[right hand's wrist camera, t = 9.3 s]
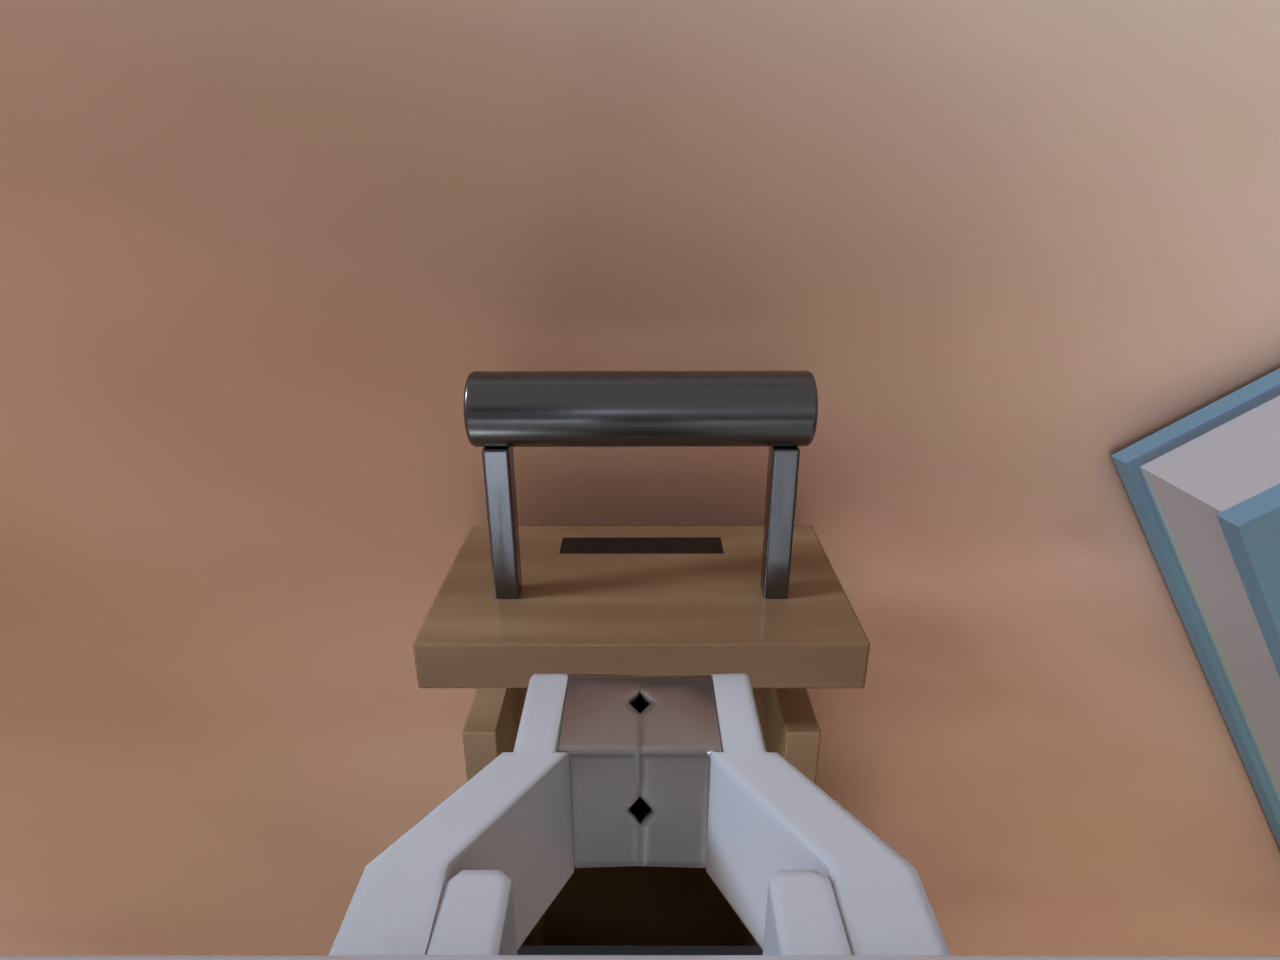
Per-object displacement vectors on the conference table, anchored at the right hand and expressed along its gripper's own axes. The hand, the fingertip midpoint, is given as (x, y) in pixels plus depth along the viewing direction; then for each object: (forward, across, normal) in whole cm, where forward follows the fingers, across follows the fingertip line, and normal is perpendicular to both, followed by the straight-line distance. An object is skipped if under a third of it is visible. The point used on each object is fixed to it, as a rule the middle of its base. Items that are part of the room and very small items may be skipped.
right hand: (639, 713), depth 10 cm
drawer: (+11, 0, -9) cm, 14 cm away
